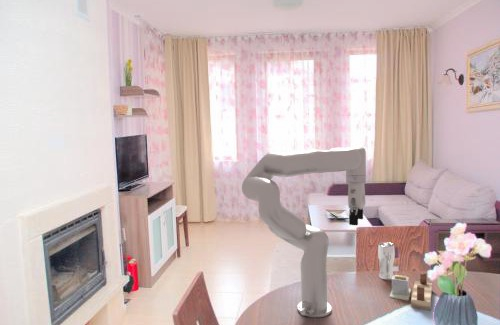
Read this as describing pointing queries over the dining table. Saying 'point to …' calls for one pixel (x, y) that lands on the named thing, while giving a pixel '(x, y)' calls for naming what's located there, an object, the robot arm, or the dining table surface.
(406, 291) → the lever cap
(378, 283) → the dining table surface
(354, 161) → the robot arm
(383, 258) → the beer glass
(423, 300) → the body
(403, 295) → the mat
